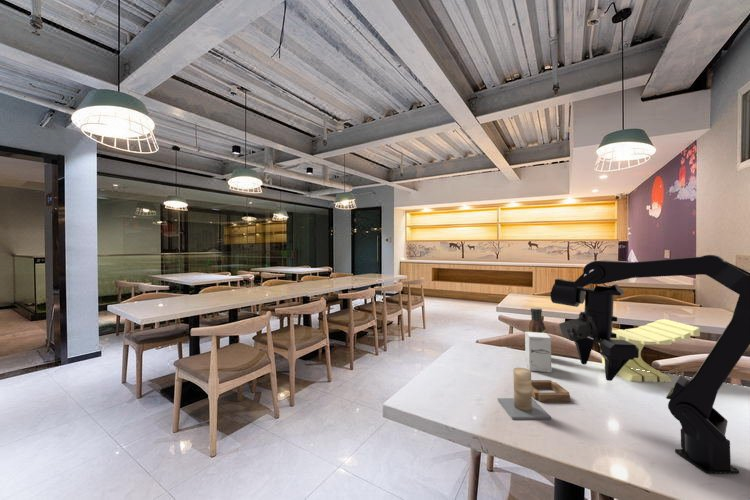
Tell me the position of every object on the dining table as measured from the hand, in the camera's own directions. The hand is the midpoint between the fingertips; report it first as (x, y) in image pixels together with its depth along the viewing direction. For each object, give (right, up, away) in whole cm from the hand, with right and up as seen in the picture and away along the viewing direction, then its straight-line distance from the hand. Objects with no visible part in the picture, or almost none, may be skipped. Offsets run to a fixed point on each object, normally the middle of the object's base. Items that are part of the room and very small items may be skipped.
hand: (595, 371), depth 76 cm
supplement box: (+5, -13, +35) cm, 38 cm away
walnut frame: (-4, -13, +16) cm, 21 cm away
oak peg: (-15, -13, +7) cm, 21 cm away
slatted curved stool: (+36, -13, +31) cm, 49 cm away
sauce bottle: (+11, -13, +47) cm, 50 cm away
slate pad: (-15, -13, +7) cm, 21 cm away
